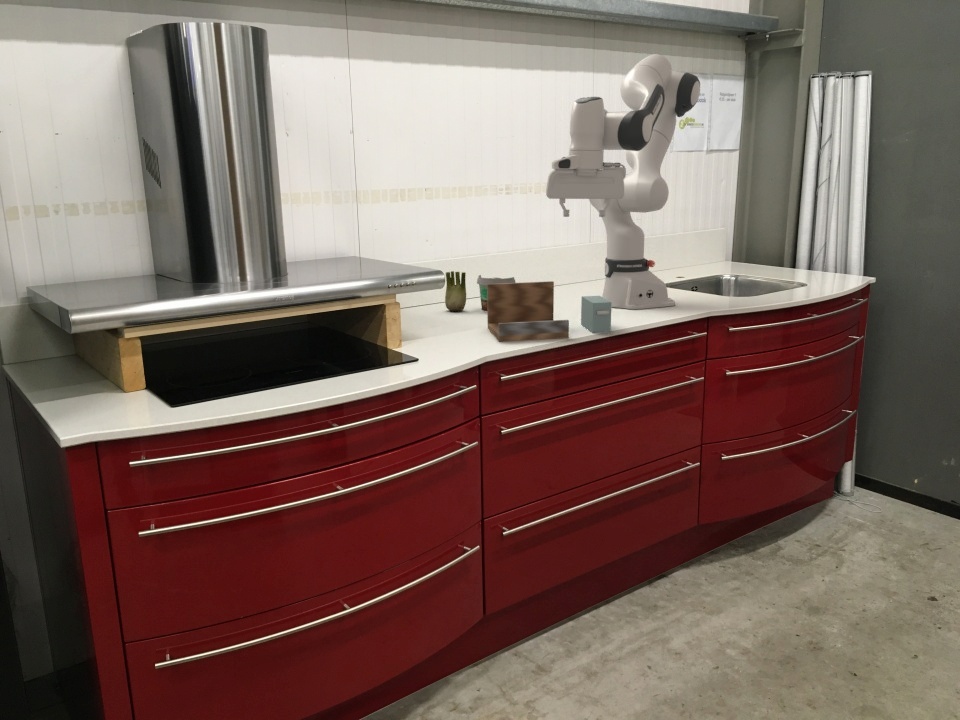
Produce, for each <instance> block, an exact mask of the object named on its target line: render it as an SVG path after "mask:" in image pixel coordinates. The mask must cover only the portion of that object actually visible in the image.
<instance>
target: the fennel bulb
mask: <svg viewBox="0 0 960 720" xmlns="http://www.w3.org/2000/svg"><path fill="white" fill-rule="evenodd" d="M460 275H461V277H460ZM466 275H467V274H466V272H465V271H462V272H461V274H460V271H454V270H452V271H448V272H447V271H446V272H445V279H446V288H445V297H444V300H445V307H446V309H447V310H448V311H451V312H461V311H464V309H465V306H466V304H467V287H466Z"/></svg>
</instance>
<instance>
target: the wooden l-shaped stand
mask: <svg viewBox="0 0 960 720" xmlns="http://www.w3.org/2000/svg"><path fill="white" fill-rule="evenodd" d="M554 289H555V282H554V281H530V282H516V283H500V284H487V311H486V312H487V330H488V331H489V332H490V333H491V334H492V335H493V336H494V337H495V338H496V340H497V341H498V342H499V343H500V342H515V341H534V340H554V339H569V336H570V333H569V332H570V321H569V319H557V320H556V319H555V320H554V303H555V301H554V298H555V297H554V295H555V293H554V292H555V291H554Z"/></svg>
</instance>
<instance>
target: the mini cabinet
mask: <svg viewBox="0 0 960 720" xmlns="http://www.w3.org/2000/svg"><path fill="white" fill-rule="evenodd" d="M611 304H612V302H610V301H608V300H607V299H605V298H603V297H602V296H601V295H587V296H585V295H583V296H581V305H580V307H581V308H580V310H581V311H580V313H581V314H580V316H581V317H580V326H581V325H582V326H581V327H583V328H584V327H585V328H584V329H586V330H587V329H588V330H587V331H589V333H591V332H592V333H591V334H598V333H599V334H602V333H611V331H612V307H611Z"/></svg>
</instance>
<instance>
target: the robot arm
mask: <svg viewBox="0 0 960 720" xmlns="http://www.w3.org/2000/svg"><path fill="white" fill-rule="evenodd" d="M672 69H673V68H672V64H671V62H670V60H669V59H668V58H666V56H664V55H663V54H658V53H653V54H649V55H648V56H646V57H644V58H643V59H641V60H640V61H638V62H637V63H636V64H635V65H634V66H633V67H632V68H631V69H630V70H629V71H628V72H627V73H626V75H625V76H624V77H623V79H622V82H621V83H620V96H621V98H622V101H623V103H624V104H625V105H626V106H627V107H628V108H629V109H631V110H628V111H627V110H626V111H608V110H606V109H605V105H604V99H603V98H602V97H601V96H588V97H580V98H577V99H576V100H574V102H573V104H572V108H571V113H570V121H569V122H570V123H569V135H570V145H569V150H568V153H569V154H568V156H562V157H561V158H559V159H556V160H553V161H552V162H551V169H553V170H551V171H550V173H549V174H548V176H547V182H546V187H545V188H546V190H545V193H546V194H545V196H546V197H547V198H548V199H550V200H551V199H552V200H555V199H556V200H557V199H558V201H559V205H560V208H561V209H562V210H563V211H562V216H563V217H564V218H565V217H566V218H568V217H570V209H567V208H566V206H565V205H564V204H566V200H568V199H569V200H570V199H571V200H572V199H573V200H575V199H576V200H581V199H582V200H585V199H586V200H588V201H589V203H590V205H592V207H594V209H595V210H596V211H597V212H598V216H599V218H601V219H602V221H603V224H604V227H605V232H606V257H605V261H604V276H605V279H604V286H603V287H604V288H603V292H602V296H601V297H603V298H605V299H607V300H608V301H610V302H612V304H611V308H618V309H619V308H620V309H627V310H628V309H629V310H642V309H652V308H662V307H665V308H666V307H672V306H673V307H674V306H676V302H675V300H674V299H673V298H671V297H669V296H668V295H669V294H668V293H669V292H668V288H667V285H666V283H665V282H664V281H662V280H661V279H660V278H659V277H658V276H657V275H655V274H654V273H653V272H652V271H651V270H649V269H650V268H654V267H655V265H656V262H655V260H651V259H649V260H648V259H647V258H645V253H644V252H645V232H644V230H643V229H642V227H640V226H639V225H637V224H636V223H635V222H634V220H633V218H632V216H631V215H632V214H631V213H642V214H643V213H644V214H645V213H650V212H657V211H660V210H662V209H663V208H664V207H665V205H666V204H667V201H668V199H669V193H670V192H669V187H668V184H667V182H666V180H665V179H664V177H662V174H661V168H662V164H663V163H664V162H663V161H664V159H665V156H666V154H667V152H668V149H669V147H670V145H671V142H672V140H673V136H674V133H675V130H676V126H677V118H682V117H683V116H685V114H686V113H687V112H690V111H691V110H692V109H693V108H694V107H695V105H696V104H697V102H698V100H699V97H700V93H701V82H700V79H699V77H698V76H697V75H695V74H693V73H690V72H682V71H678V70H672ZM621 150H622V151H624V150H625V151H626V152H625V158H626V159H625V160H626V162H627V163H628V166H629V167H630V168H631V169H632V170H631V172H630V173H627V168H626V166H625V165H623V164H622V163H620V162H604V157H605V156H604V154H605V153H604V152H605V151H621ZM626 173H627V174H626Z"/></svg>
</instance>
